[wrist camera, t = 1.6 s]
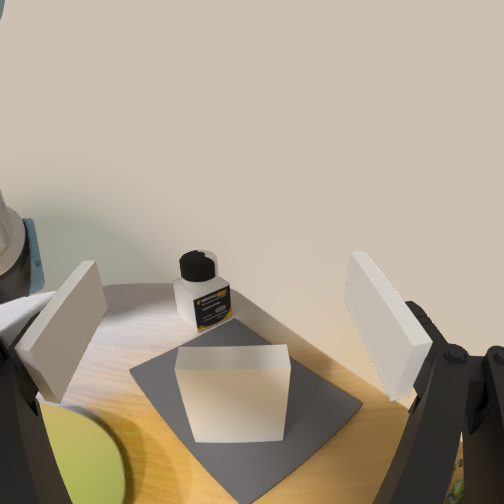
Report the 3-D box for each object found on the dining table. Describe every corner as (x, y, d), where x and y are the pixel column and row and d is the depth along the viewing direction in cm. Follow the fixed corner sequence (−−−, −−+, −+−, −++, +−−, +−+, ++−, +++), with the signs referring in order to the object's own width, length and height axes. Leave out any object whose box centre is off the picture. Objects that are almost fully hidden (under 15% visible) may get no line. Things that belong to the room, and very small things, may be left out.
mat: (130, 373, 41) (128, 369, 41) (235, 321, 53) (234, 318, 53) (244, 508, 24) (244, 506, 23) (361, 406, 35) (363, 403, 35)
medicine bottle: (198, 333, 50) (189, 270, 45) (177, 314, 55) (167, 254, 50) (232, 317, 54) (228, 255, 49) (209, 300, 59) (204, 242, 54)
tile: (282, 440, 31) (290, 367, 25) (195, 442, 31) (174, 369, 25) (280, 419, 34) (286, 342, 28) (197, 421, 34) (179, 345, 28)
